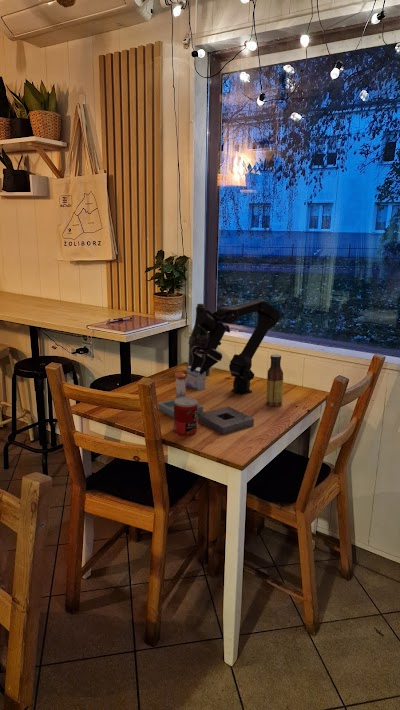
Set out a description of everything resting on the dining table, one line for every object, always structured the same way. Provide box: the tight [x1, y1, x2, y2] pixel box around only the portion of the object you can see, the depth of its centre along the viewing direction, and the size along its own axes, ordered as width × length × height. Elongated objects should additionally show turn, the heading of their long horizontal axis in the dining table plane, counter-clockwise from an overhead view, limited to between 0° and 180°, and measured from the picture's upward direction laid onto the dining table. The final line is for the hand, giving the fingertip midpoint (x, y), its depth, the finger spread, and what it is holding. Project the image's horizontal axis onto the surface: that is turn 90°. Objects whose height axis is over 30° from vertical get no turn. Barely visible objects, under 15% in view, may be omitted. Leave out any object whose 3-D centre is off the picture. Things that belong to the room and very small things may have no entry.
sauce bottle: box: [266, 353, 284, 407], centre depth 185 cm, size 7×6×20 cm
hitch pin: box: [174, 371, 187, 399], centre depth 176 cm, size 5×5×14 cm
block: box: [197, 405, 255, 435], centre depth 168 cm, size 14×14×2 cm
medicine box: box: [186, 366, 207, 391], centre depth 204 cm, size 8×4×9 cm, turn 42°
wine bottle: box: [187, 303, 211, 376], centre depth 219 cm, size 10×10×33 cm
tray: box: [157, 398, 204, 419], centre depth 177 cm, size 12×12×2 cm
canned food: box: [173, 396, 199, 437], centre depth 159 cm, size 8×8×11 cm
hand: (195, 372), depth 182 cm, fingers open, 9 cm apart
